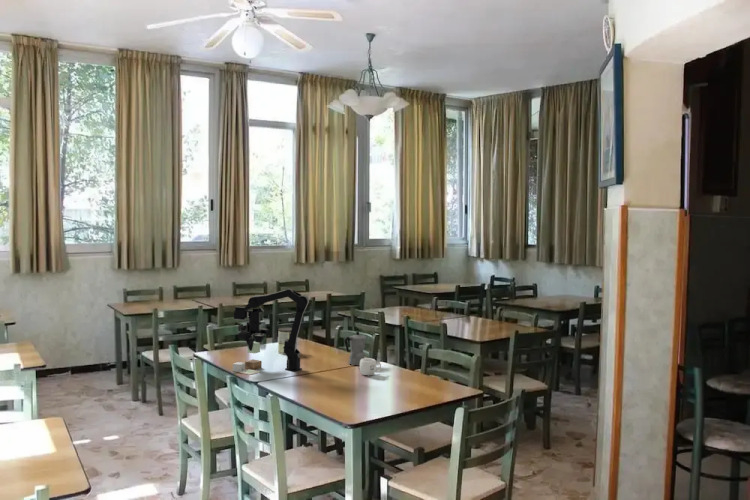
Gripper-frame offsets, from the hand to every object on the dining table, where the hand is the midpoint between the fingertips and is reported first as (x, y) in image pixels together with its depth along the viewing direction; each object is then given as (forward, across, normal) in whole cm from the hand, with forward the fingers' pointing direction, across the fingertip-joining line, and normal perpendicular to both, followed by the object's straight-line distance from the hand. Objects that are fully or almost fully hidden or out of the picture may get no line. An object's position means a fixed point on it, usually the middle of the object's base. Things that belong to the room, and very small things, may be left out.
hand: (253, 349), depth 336 cm
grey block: (+10, +9, -2) cm, 13 cm away
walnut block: (+10, 0, 0) cm, 10 cm away
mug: (+10, -28, +55) cm, 62 cm away
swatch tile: (+10, +8, +5) cm, 13 cm away
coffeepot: (+10, -42, +36) cm, 56 cm away
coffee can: (+10, -41, -12) cm, 44 cm away
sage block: (+1, 0, 0) cm, 1 cm away
